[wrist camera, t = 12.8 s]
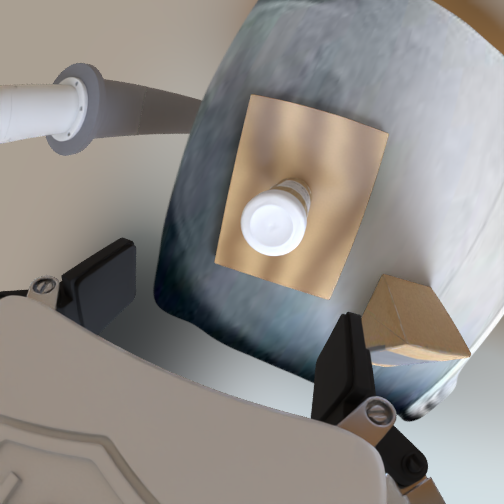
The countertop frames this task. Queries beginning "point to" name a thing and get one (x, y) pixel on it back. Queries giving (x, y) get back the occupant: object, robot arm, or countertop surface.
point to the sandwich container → (409, 325)
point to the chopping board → (315, 176)
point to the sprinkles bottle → (277, 217)
